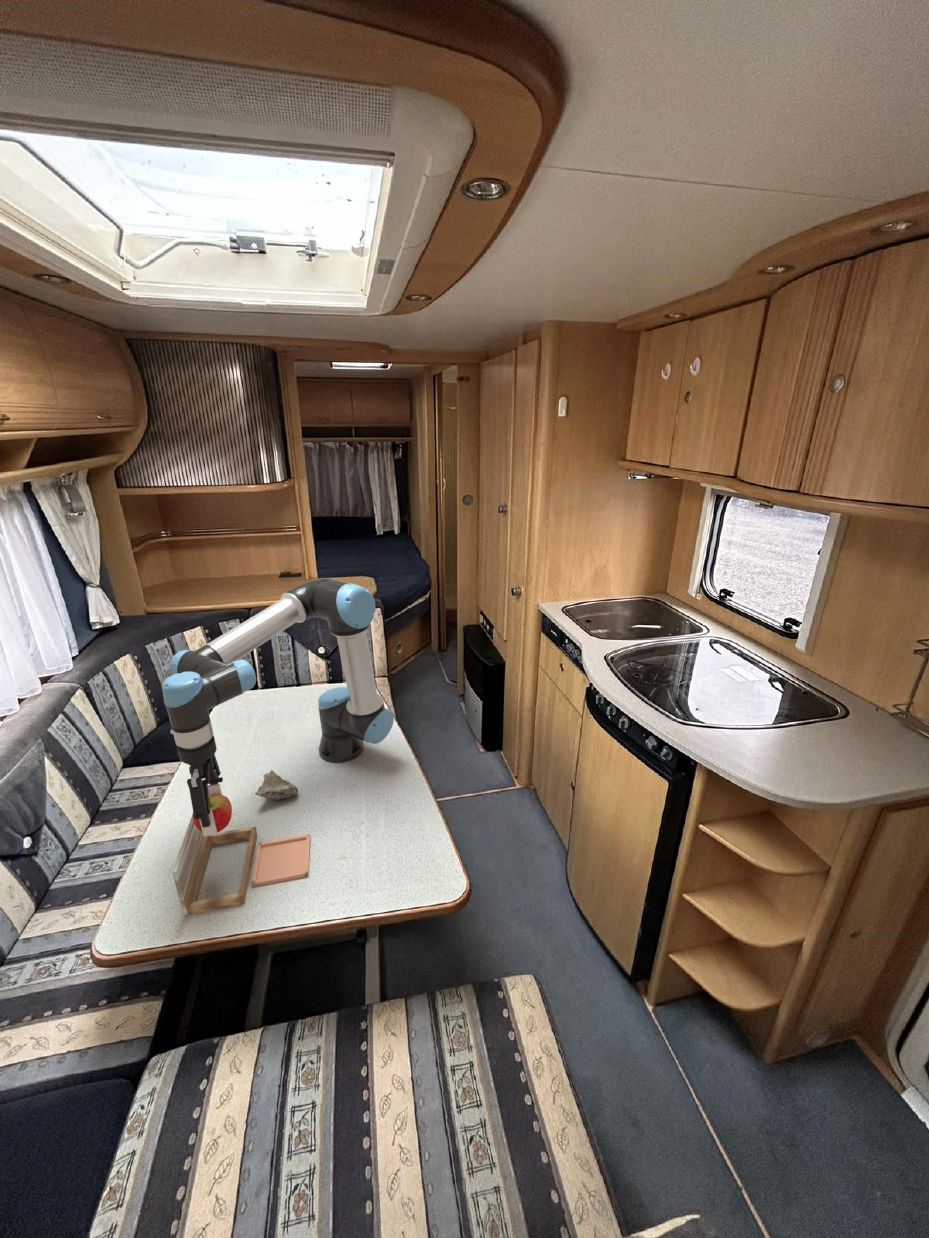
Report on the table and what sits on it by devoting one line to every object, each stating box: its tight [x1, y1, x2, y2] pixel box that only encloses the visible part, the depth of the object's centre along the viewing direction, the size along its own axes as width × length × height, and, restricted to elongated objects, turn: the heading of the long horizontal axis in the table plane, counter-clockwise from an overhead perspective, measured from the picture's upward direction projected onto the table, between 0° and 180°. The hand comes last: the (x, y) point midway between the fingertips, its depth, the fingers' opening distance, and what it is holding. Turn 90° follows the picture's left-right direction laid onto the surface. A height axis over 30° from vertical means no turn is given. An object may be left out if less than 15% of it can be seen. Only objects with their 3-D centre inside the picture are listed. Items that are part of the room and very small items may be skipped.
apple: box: [192, 794, 233, 833], centre depth 119 cm, size 8×8×10 cm
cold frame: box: [171, 813, 258, 916], centre depth 124 cm, size 13×23×14 cm, turn 14°
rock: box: [255, 769, 299, 801], centre depth 150 cm, size 11×6×10 cm
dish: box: [251, 833, 311, 888], centre depth 129 cm, size 13×13×2 cm
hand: (214, 819), depth 120 cm, fingers closed on apple, 8 cm apart
